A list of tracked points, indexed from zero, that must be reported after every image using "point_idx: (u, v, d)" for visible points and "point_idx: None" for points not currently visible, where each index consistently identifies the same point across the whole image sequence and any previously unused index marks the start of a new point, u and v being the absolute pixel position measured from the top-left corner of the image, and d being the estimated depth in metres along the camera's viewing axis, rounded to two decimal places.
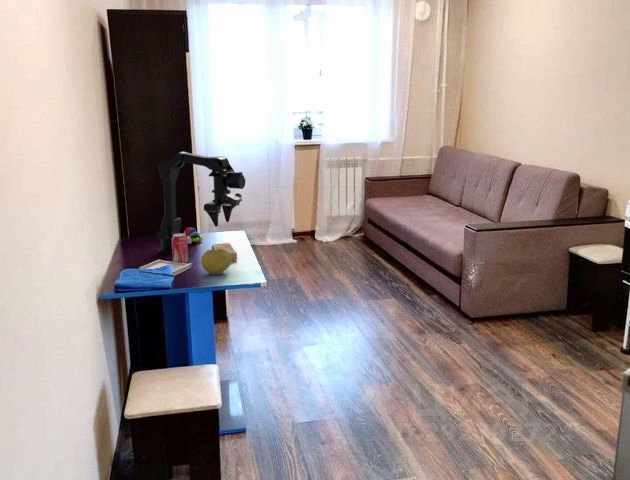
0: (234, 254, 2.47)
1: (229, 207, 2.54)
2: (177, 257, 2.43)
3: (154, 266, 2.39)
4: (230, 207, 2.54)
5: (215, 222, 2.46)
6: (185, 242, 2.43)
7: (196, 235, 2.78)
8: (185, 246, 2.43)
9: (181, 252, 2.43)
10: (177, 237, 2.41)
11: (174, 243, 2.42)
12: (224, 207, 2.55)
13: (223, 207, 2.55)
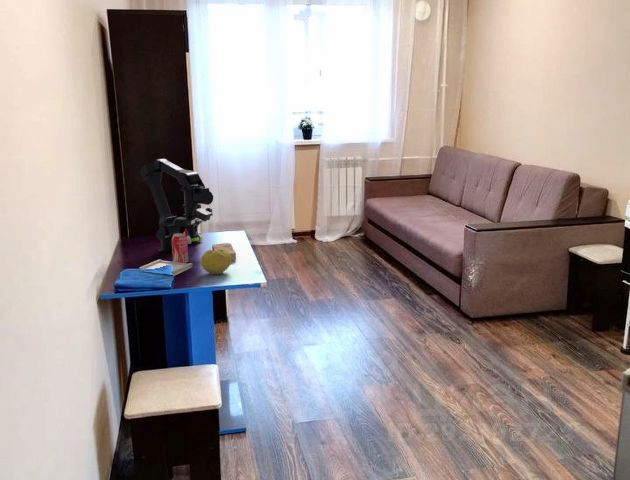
0: (233, 254, 2.47)
1: None
2: (177, 257, 2.43)
3: (154, 266, 2.39)
4: None
5: (191, 234, 2.52)
6: (185, 242, 2.43)
7: (196, 235, 2.78)
8: (185, 246, 2.43)
9: (181, 252, 2.43)
10: (177, 237, 2.41)
11: (174, 243, 2.42)
12: None
13: None
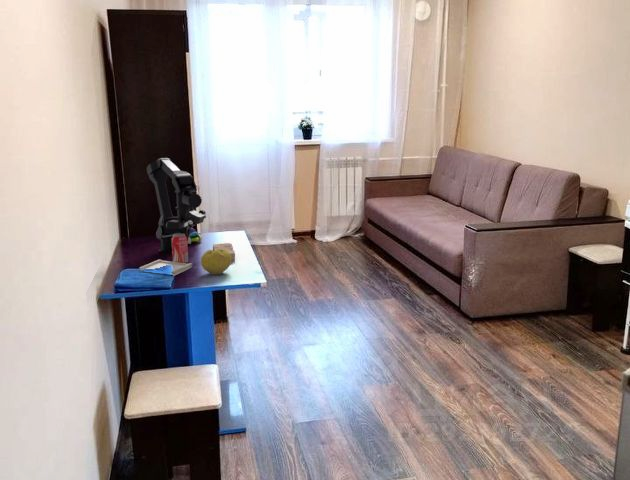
0: (232, 254, 2.47)
1: (188, 226, 2.47)
2: (177, 257, 2.43)
3: (154, 266, 2.39)
4: (189, 226, 2.47)
5: None
6: (185, 242, 2.43)
7: (195, 235, 2.78)
8: (185, 246, 2.43)
9: (181, 252, 2.43)
10: (177, 237, 2.41)
11: (174, 243, 2.42)
12: None
13: None
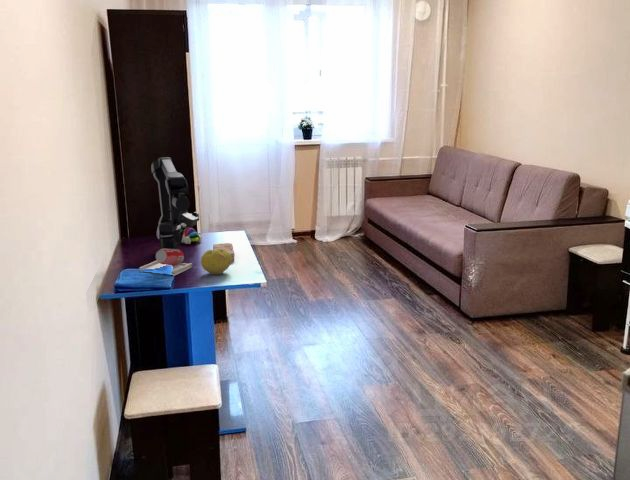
0: (231, 254, 2.47)
1: None
2: (173, 264, 2.41)
3: (154, 266, 2.39)
4: (182, 229, 2.43)
5: (177, 240, 2.43)
6: (171, 259, 2.34)
7: (195, 235, 2.78)
8: (173, 259, 2.36)
9: (174, 263, 2.38)
10: (162, 262, 2.33)
11: None
12: None
13: None
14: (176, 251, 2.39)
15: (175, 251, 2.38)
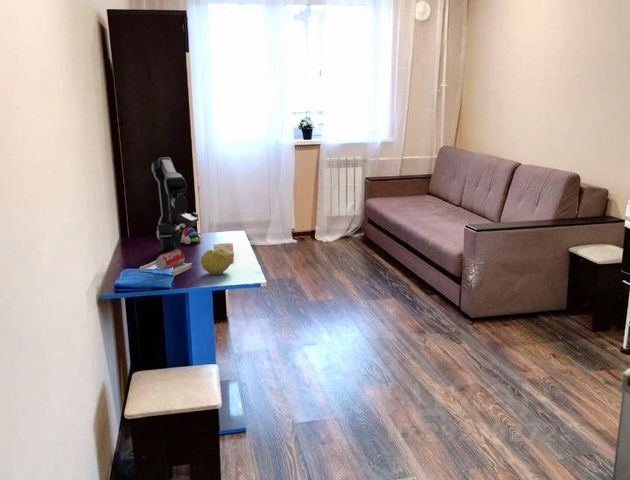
0: None
1: (180, 229, 2.43)
2: None
3: (154, 266, 2.39)
4: (181, 229, 2.42)
5: (176, 240, 2.43)
6: (171, 266, 2.34)
7: (195, 235, 2.78)
8: (173, 265, 2.35)
9: (174, 266, 2.38)
10: (161, 269, 2.33)
11: None
12: None
13: None
14: (177, 255, 2.37)
15: (175, 255, 2.36)
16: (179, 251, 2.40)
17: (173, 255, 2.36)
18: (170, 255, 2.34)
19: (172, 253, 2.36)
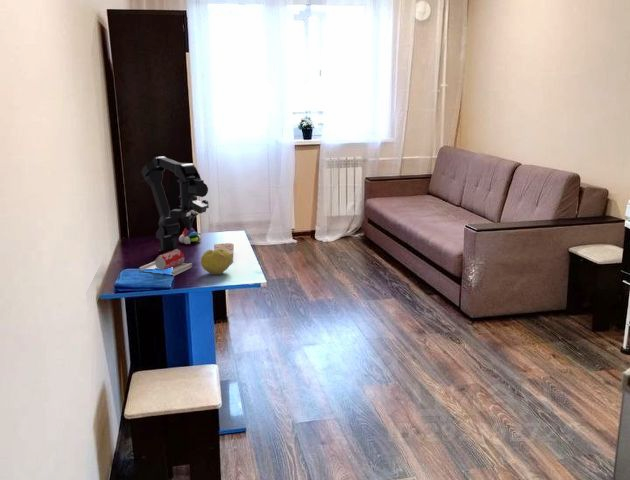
0: None
1: None
2: None
3: (154, 266, 2.39)
4: None
5: (187, 226, 2.51)
6: (170, 265, 2.34)
7: (195, 235, 2.78)
8: (173, 264, 2.35)
9: None
10: (161, 269, 2.33)
11: None
12: None
13: None
14: (176, 255, 2.37)
15: (175, 255, 2.37)
16: (178, 251, 2.40)
17: (172, 255, 2.36)
18: (169, 255, 2.35)
19: (171, 253, 2.36)
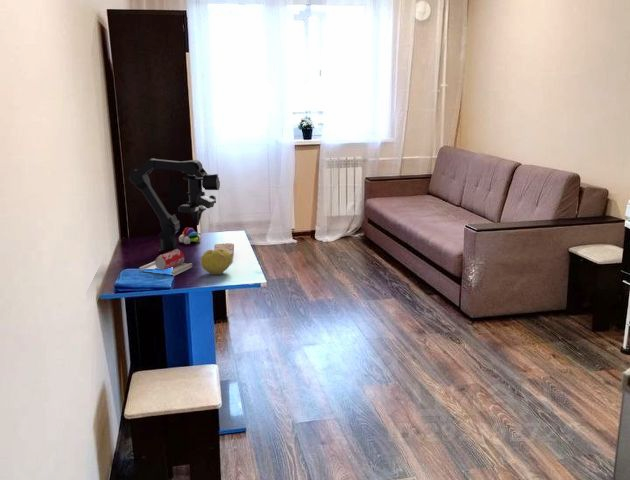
0: None
1: None
2: None
3: (154, 266, 2.39)
4: None
5: (196, 221, 2.60)
6: (170, 265, 2.34)
7: (195, 235, 2.78)
8: (173, 264, 2.35)
9: None
10: (161, 269, 2.33)
11: None
12: None
13: None
14: (176, 254, 2.37)
15: (175, 255, 2.37)
16: (178, 251, 2.40)
17: (172, 255, 2.36)
18: (169, 255, 2.35)
19: (171, 253, 2.36)
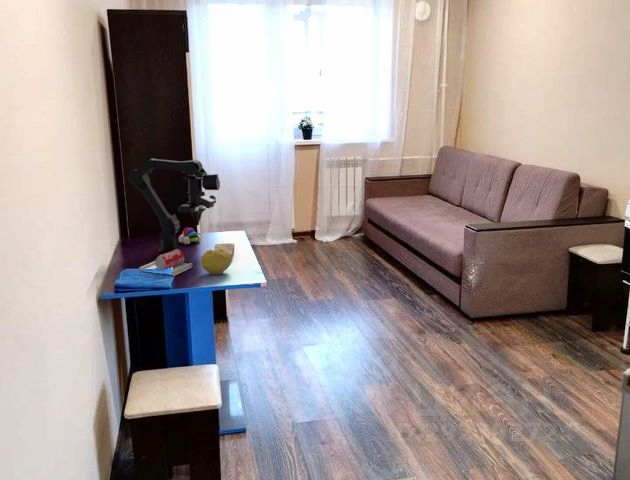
0: None
1: None
2: None
3: (154, 266, 2.39)
4: None
5: (196, 221, 2.60)
6: (170, 265, 2.34)
7: (194, 235, 2.78)
8: (173, 264, 2.35)
9: None
10: (161, 269, 2.33)
11: None
12: None
13: None
14: (176, 254, 2.37)
15: (175, 255, 2.37)
16: (178, 251, 2.40)
17: (172, 255, 2.36)
18: (169, 255, 2.35)
19: (171, 253, 2.36)
